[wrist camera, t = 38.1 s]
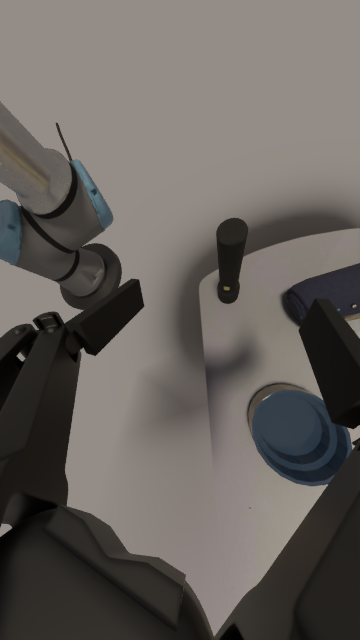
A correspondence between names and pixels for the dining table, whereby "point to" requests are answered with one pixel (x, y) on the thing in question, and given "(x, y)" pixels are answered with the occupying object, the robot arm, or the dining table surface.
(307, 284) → the portable speaker
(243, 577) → the dining table surface
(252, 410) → the bowl
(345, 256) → the dining table surface
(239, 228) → the flashlight
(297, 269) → the dining table surface
